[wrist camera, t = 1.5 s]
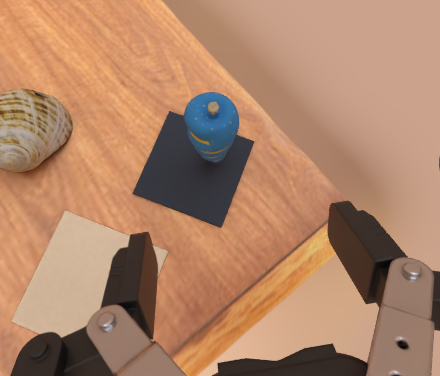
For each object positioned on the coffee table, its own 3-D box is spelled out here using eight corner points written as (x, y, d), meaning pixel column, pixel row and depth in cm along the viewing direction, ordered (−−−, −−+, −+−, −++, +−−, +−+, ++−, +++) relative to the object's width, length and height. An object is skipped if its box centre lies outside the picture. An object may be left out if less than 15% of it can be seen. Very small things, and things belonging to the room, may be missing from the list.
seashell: (63, 84, 43) (34, 77, 34) (86, 154, 46) (64, 166, 36) (-15, 100, 42) (-68, 97, 33) (13, 170, 45) (-29, 187, 35)
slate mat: (253, 142, 42) (254, 141, 42) (221, 227, 40) (221, 227, 40) (170, 112, 43) (169, 110, 43) (133, 193, 41) (132, 193, 41)
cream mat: (168, 251, 39) (168, 251, 39) (120, 368, 37) (119, 369, 36) (66, 210, 41) (65, 210, 40) (12, 321, 38) (10, 321, 37)
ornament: (186, 153, 42) (167, 95, 27) (219, 131, 42) (218, 64, 28) (209, 185, 41) (201, 144, 26) (242, 163, 41) (253, 111, 27)
